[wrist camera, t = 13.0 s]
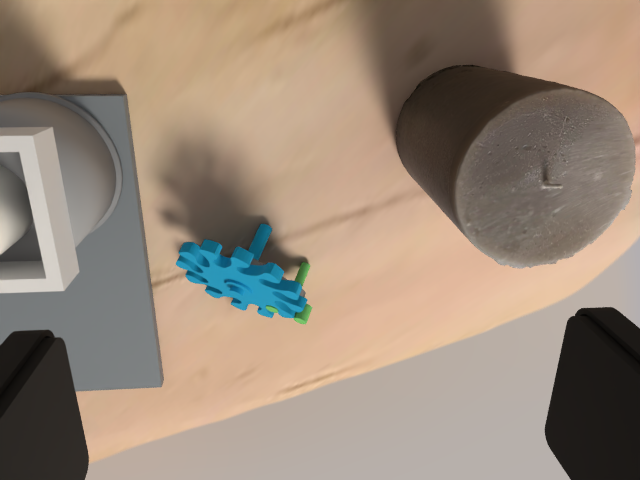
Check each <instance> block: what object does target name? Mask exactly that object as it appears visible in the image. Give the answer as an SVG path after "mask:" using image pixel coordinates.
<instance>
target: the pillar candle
mask: <svg viewBox="0 0 640 480" xmlns="http://www.w3.org/2000/svg"><path fill="white" fill-rule="evenodd" d="M396 134H397V136H396V140H397V148H398V153H399V156H400V159H401V161H402V164H403V165H404V167H405V168H406V170H407V171H408V173H409V174H410V175H411V177H412V178H413V179H414V180H415V181H416V182H417V183H418V184H419V185H420V186H421V188H422V189H423V190H424V191H425V192H426V193H427V194H428V195H429V196H430V197H431V198H432V200H433V201H434V202H435V203H436V204H437V205H438V206H439V207H440V208H441V210H442V211H443V212H444V213H445V214H446V215H447V216H448V217H449V219H450V220H451V221H452V222H453V223H454V224H455V225H456V226H457V227H458V229H459V230H460V231H461V232H462V233H463V234H464V235H465V236H466V237H467V238H468V239H469V241H470V242H471V243H472V244H473V245H474V246H475V247H476V248H478V249H479V250H480V251H481V252H483V253H484V254H486V255H487V256H489V257H491V258H492V259H494V260H495V261H496V262H497V263H498V264H500V265H509V266H511V267H513V268H525V267H529V268H531V267H533V266H538V265H544V264H556V262H557V261H558V260H561V259H564V258H569V257H572V256H573V255H574V254H575V253H577V252H579V251H580V250H582V249H583V248H585V247H586V246H587V245H588V244H592V243H593V242H594V241H595V240H596V239H597V238H598V237H599V236H600V235H601V234H602V233H603V232H604V231H605V230H606V229H607V228H608V227H609V226H610V225H611V224H612V222H613V221H614V219H615V218H616V217H617V216H618V214H619V212H620V211H621V210H625V207H626V205H627V204H628V203H629V200H630V198H631V193H632V190H631V189H630V188H631V184H632V181H633V176H634V173H635V163H636V162H635V144H634V140H633V137H632V133H631V131H630V129H629V126H628V124H627V121H626V120H625V118H624V116H623V115H622V114H621V113H620V112H619V111H618V110H617V109H616V108H615V107H614V106H613V105H612V104H610V103H609V102H608V101H606V100H605V99H603V98H601V97H599V96H597V95H595V94H592V93H590V92H588V91H585V90H581V89H577V88H574V87H570V86H567V85H563V84H559V83H556V82H551V81H545V80H542V79H537V78H533V77H527V76H522V75H519V74H515V73H510V72H505V71H498V70H494V69H488V68H484V67H480V66H475V65H463V66H461V65H459V66H458V65H456V66H452V67H449V68H445V69H442V70H440V71H437V72H436V73H434V74H432V75H430V76H429V77H427V78H426V79H424V80H423V81H422V82H420V83H419V84H418V86H417V87H416V90H415V91H414V92H413V93H412V94H411V97H410V98H409V99H407V101H406V102H405V104H404V106H403V108H402V111H401V113H400V116H399V119H398V124H397V132H396Z"/></svg>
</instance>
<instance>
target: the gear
mask: <svg viewBox="0 0 640 480" xmlns="http://www.w3.org/2000/svg"><path fill="white" fill-rule="evenodd" d="M271 231H272V228H271V227H270V226H268V225H266V224H260V226H259V228H258V230H257V232H256V235H255V237H254V239H253V241H252V243H251V245H250V248H249V250H248V251H247V250H245V249H243V248H241V247H236V248H235V250H234V252H233V254H232V256H231V258H227V257H224V256H222V255H221V254H219V253H220V251H221V249H222V246H221V244H220V243H217V242H214V241H211V240H206V239H204V241H203V243H202V245H201V247H199V246H198V245H197V244H195V243H193V242H186V243H183V245H182V247H181V249H180V251H179V254H180V256H179V258H178V260H177V262H176V265H177V266H179V267H180V268H183V269H186V270H188V271H187V273H186V277H187V279H188V280H189V281H190V282H193V283H198V284H205V285H207V287H206V289H205V291H206V292H207V293H208V294H210V295H211V296H213V297H215V298H220V297H223V296H226V297H233V300H232V302H231V305H233V306H235V307H237V308H239V309H241V310H246V309H247V306H248V304H255V305H257V306H259V308H258V311H257V312H258V313H259V314H261V315H263V316H266V317H270V318H272V317H273V315H274V313H278V314H279V315H281V316H282V317H285V318H294V320H295V321H296V322H298V323H301V324H306V323H307V320H308V318H309V315H310V312H311V310H312V307H311V306H310V305H308V304H306V302H307V299H306V298H304V296H305V294H306V293H305V291H304V290H302V286H303V283H304V281H305V278H306V276H307V273H308V271H309V268H310V265H309V264H308V263H305V262H302V263H301V266H300V268H299V271H298V273H297V276H296V278H295V281H292V280H287V279H285V278H284V277H282V276H283V274H284V271H283V270H282V269H281V268H280V267H279V266H278V265H276V264H275V263H267V264H265V265H264V264H262V263H261V262H259V261H258V260H259V258H260V256H261V254H262V251H263V249H264V247H265V245H266V242H267V240H268V238H269V236H270V233H271Z"/></svg>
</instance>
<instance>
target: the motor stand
mask: <svg viewBox="0 0 640 480" xmlns="http://www.w3.org/2000/svg"><path fill="white" fill-rule="evenodd" d="M0 165H1V166H3V167H5V168H7V169H8V170H10V171H11V172H13V173H14V174H15V175H17V176H18V177H19V178H20V179H21V180H22V181H23V183H24V184H25V185H26V187H27V190H28V195H29V200H30V205H31V209H32V214H33V219H34V220H33V223H32V225H31V227H30V229H29V230H28V232H27V233H26V234H25V235H24V236H23V237H22V238H20V239H19V240H18V241H17V242H16V243H14V244H13V245H12V246H11V247H9V248H8V249H7V250H6V251H5V252H3V253H2V254H1V255H0V345H1V344H2V343H3V342H4V340H5V339H6V338H7V337H8V336H9V335H10V334H11V333H12V332H13V331H25V330H50V331H52V332H53V334H54V336H55V337H61V338H63V340H64V342H65V345H66V349H67V354H68V359H69V364H70V369H71V373H72V378H73V383H74V388H75V391H93V390H113V389H134V388H154V387H162V384H163V381H164V377H163V369H162V362H161V354H160V346H159V339H158V331H157V323H156V316H155V308H154V300H153V293H152V285H151V277H150V270H149V262H148V254H147V247H146V239H145V231H144V224H143V216H142V208H141V201H140V193H139V185H138V178H137V170H136V162H135V154H134V147H133V139H132V131H131V124H130V116H129V108H128V101H127V94H89V95H52V94H46V93H41V92H20V93H15V94H10V95H0Z"/></svg>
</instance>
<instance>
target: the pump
mask: <svg viewBox="0 0 640 480" xmlns="http://www.w3.org/2000/svg"><path fill="white" fill-rule="evenodd" d="M33 220H34V219H33V214H32V209H31V205H30V200H29V195H28V190H27V187H26V185H25V184H24V183H23V181H22V180H21V179H20V178H19V177H18V176H17V175H15V174H14V173H13V172H11V171H10V170H8V169H7V168H5V167H3V166H1V165H0V255H1V254H2V253H3V252H5V251H6V250H7V249H8V248H9V247H11V246H12V245H13V244H14V243H16V242H17V241H18V240H19V239H20V238H22V237H23V236H24V235H25V234H26V233H27V232H28V230H29V229H30V227H31V225H32V223H33Z"/></svg>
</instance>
